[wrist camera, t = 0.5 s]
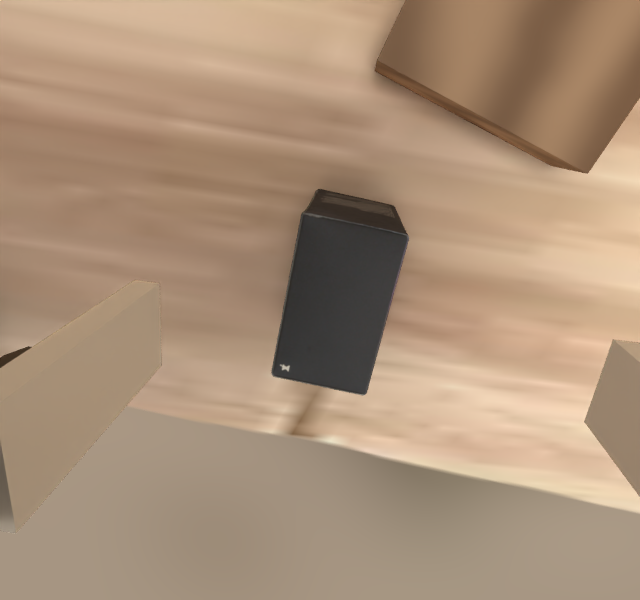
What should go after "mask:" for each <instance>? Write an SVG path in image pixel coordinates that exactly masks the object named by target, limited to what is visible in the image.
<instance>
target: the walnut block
mask: <svg viewBox="0 0 640 600" xmlns="http://www.w3.org/2000/svg"><path fill="white" fill-rule="evenodd" d="M375 71H376V72H378V73H380V74H381V75H383V76H385V77H387V78H389V79H391V80H393V81H394V82H396V83H398V84H400V85H402V86H404V87H406V88H408V89H409V90H411V91H413V92H415V93H417V94H419V95H421V96H422V97H424V98H426V99H428V100H430V101H432V102H434V103H435V104H437V105H439V106H441V107H443V108H445V109H447V110H448V111H450V112H452V113H454V114H456V115H458V116H460V117H462V118H463V119H465V120H467V121H469V122H471V123H473V124H475V125H476V126H478V127H480V128H482V129H484V130H486V131H488V132H489V133H491V134H493V135H495V136H497V137H499V138H501V139H502V140H504V141H506V142H508V143H510V144H512V145H514V146H516V147H517V148H519V149H521V150H523V151H525V152H527V153H529V154H530V155H532V156H534V157H536V158H538V159H540V160H542V161H543V162H545V163H547V164H549V165H551V166H554V167H559V168H564V169H568V170H573V171H578V172H582V173H587V174H588V173H589V171H590V170H591V168H592V167H593V165H594V164H595V162H596V161H597V159H598V158H599V156H600V155H601V154H602V152H603V151H604V149H605V148H606V146H607V145H608V143H609V142H610V140H611V139H612V138H613V136H614V135H615V133H616V132H617V130H618V129H619V127H620V126H621V124H622V123H623V121H624V120H625V119H626V117H627V116H628V114H629V113H630V111H631V110H632V108H633V107H634V105H635V104H636V103H637V101H638V100H639V98H640V0H406V1H405V3H404V5H403V7H402V9H401V11H400V13H399V15H398V17H397V20H396V22H395V24H394V26H393V28H392V30H391V32H390V34H389V36H388V38H387V41H386V43H385V45H384V47H383V49H382V51H381V53H380V55H379V57H378V59H377V63H376V68H375Z"/></svg>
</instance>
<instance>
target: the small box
mask: <svg viewBox="0 0 640 600" xmlns="http://www.w3.org/2000/svg"><path fill="white" fill-rule="evenodd" d="M408 241H409V236H408V234H407V233H406V230H405V228H404V226H403V224H402V222H401V220H400V218H399V216H398V213H397V211H396V209H395V207H394V206H392V205H388V204H384V203H380V202H376V201H371V200H367V199H362V198H358V197H353V196H349V195H344V194H339V193H335V192H331V191H326V190H322V189H318V190H316V192H315V195H314V197H313V199H312V201H311V203H310V204H309V206H308V207H307V209H306V210H305V211H304V212H303V213H302V214H301V219H300V224H299V229H298V234H297V239H296V244H295V250H294V255H293V261H292V266H291V271H290V276H289V282H288V286H287V291H286V297H285V302H284V307H283V313H282V319H281V324H280V329H279V334H278V339H277V345H276V351H275V355H274V361H273V367H272V375H273V377H277V378H282V379H288V380H292V381H297V382H302V383H306V384H311V385H316V386H321V387H325V388H330V389H334V390H339V391H344V392H349V393H354V394H359V395H366V393H367V390H368V386H369V383H370V379H371V375H372V371H373V368H374V364H375V361H376V357H377V353H378V349H379V346H380V342H381V338H382V335H383V331H384V327H385V324H386V320H387V316H388V313H389V309H390V305H391V302H392V298H393V295H394V291H395V287H396V284H397V280H398V277H399V273H400V270H401V266H402V262H403V259H404V255H405V252H406V248H407V244H408Z"/></svg>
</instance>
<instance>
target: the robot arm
mask: <svg viewBox="0 0 640 600" xmlns="http://www.w3.org/2000/svg"><path fill="white" fill-rule="evenodd" d="M161 365H162V356H161V313H160V283H156V282H148V281H140V280H134V281H132V282H131V283H129V284H128V285H126V286H125V287H123V288H122V289H120V290H119V291H117V292H116V293H114V294H112V295H111V296H109V297H108V298H106V299H105V300H103V301H102V302H100V303H99V304H97V305H96V306H94V307H93V308H91V309H90V310H88V311H87V312H85V313H84V314H82V315H80V316H79V317H77V318H76V319H74V320H73V321H71V322H70V323H68V324H67V325H65V326H64V327H62V328H61V329H59V330H58V331H56V332H55V333H53V334H52V335H50V336H48V337H47V338H45V339H44V340H42V341H41V342H39V343H38V344H36V345H35V346H33V347H26V348H23V349H20V350H18V351H15V352H12V353H9V354H6V355H4V356H2V357H1V358H0V531H3V532H10V533H17V532H18V531H19V530H20V529H21V527H22V526H23V525H24V524H25V523H26V522H27V520H28V519H29V518H30V517H31V516H32V515H33V514H34V512H35V511H36V510H37V509H38V507H40V505H41V504H42V503H43V502H44V501H45V500H46V498H47V497H48V496H49V495H50V494H51V493H52V491H53V490H54V489H55V488H56V487H57V486H58V485H59V483H60V482H61V481H62V480H63V479H64V478H65V477H66V475H67V474H68V473H69V472H70V471H71V469H72V468H73V467H74V466H75V465H76V464H77V463H78V461H79V460H80V459H81V458H82V457H83V456H84V455H85V453H86V452H87V451H88V450H89V449H90V448H91V446H92V445H93V444H94V443H95V442H96V441H97V439H98V438H99V437H100V436H101V435H102V434H103V432H104V431H105V430H106V429H107V428H108V427H109V425H110V424H111V423H112V422H113V421H114V420H115V419H116V417H117V416H118V415H119V414H120V413H121V412H122V410H123V409H124V408H125V407H126V406H127V405H128V404H129V402H130V401H131V400H132V399H133V398H134V397H135V395H136V394H137V393H138V392H139V391H140V390H141V389H142V387H143V386H144V385H145V384H146V383H147V382H148V380H149V379H150V378H151V377H152V376H153V375H154V373H155V372H156V371H157V370H158V369H159V368H160V367H161ZM584 422H585V423H586V425H587V426H588V427H589V429H590V430H591V431H592V433H593V434H594V436H595V437H596V438H597V440H598V441H599V442H600V444H601V445H602V446H603V448H604V449H605V450H606V452H607V453H608V454H609V456H610V457H611V459H612V460H613V461H614V463H615V464H616V465H617V467H618V468H619V469H620V471H621V472H622V473H623V475H624V476H625V477H626V479H627V480H628V482H629V483H630V484H631V486H632V487H633V488H634V490H635V491H636V492H637V494H638V495H639V496H640V343H638V342H630V341H622V340H613V341H612V344H611V347H610V350H609V352H608V355H607V358H606V361H605V364H604V367H603V370H602V373H601V375H600V378H599V381H598V384H597V387H596V390H595V393H594V396H593V398H592V401H591V404H590V407H589V410H588V413H587V416H586V418H585V421H584Z"/></svg>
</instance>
